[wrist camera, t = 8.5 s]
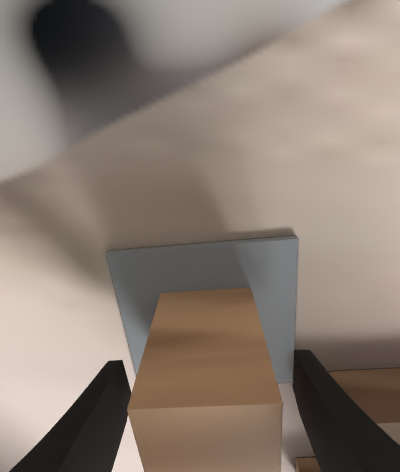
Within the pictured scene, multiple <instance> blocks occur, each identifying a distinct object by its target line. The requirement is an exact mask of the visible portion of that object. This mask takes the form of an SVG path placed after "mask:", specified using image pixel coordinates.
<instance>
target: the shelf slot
mask: <svg viewBox="0 0 400 472" xmlns="http://www.w3.org/2000/svg"><path fill="white" fill-rule="evenodd" d="M329 374H330V375H331V376H332V377H333V378H334V379H335V380H336V382H337V383H338V384H339V385H340V386H341V387H342V388H343V389H344V390H345V392H346V393H347V394H348V395H349V396H350V397H351V398H352V399H353V400H354V401H355V402H356V403H357V404H358V405H359V407H360V408H361V409H362V410H363V411H364V412H365V413H366V414H367V415H368V416H369V417H370V418H371V419H372V420H373V421H374V422H375V423H376V424H377V425H378V426H380V427H381V428H382V429H383V430H384V431H385V432H386V433H387V434H388V435H389V436H390V437H391V438H392V439H393V440H394V441H396V442H397V443H400V368H390V369H370V370H350V371H330V372H329ZM295 472H321V470H320V467H319V465H318V462H317V459H316V457H307V458H296V465H295Z"/></svg>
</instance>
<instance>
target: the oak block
mask: <svg viewBox="0 0 400 472" xmlns="http://www.w3.org/2000/svg"><path fill="white" fill-rule="evenodd" d="M282 411H283V403H282V399H281V396H280V392H279V388H278V385H277V381H276V377H275V373H274V370H273V366H272V362H271V359H270V355H269V351H268V348H267V344H266V340H265V337H264V333H263V329H262V326H261V322H260V318H259V315H258V311H257V307H256V304H255V300H254V296H253V293H252V289H251V287H247V288H231V289H216V290H200V291H185V292H169V293H160V297H159V300H158V304H157V307H156V311H155V314H154V318H153V321H152V324H151V328H150V331H149V335H148V338H147V342H146V345H145V349H144V352H143V356H142V359H141V363H140V366H139V369H138V373H137V376H136V380H135V383H134V387H133V390H132V394H131V397H130V401H129V404H128V408H127V412H128V415H129V419H130V422H131V426H132V429H133V433H134V437H135V440H136V444H137V447H138V451H139V454H140V458H141V461H142V465H143V469H144V472H281V445H282Z"/></svg>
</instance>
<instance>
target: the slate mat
mask: <svg viewBox="0 0 400 472" xmlns="http://www.w3.org/2000/svg"><path fill="white" fill-rule="evenodd" d="M298 240H299V239H298V237H297V236H296V235H295V236H283V237H271V238H258V239H246V240H234V241H222V242H210V243H198V244H185V245H173V246H161V247H149V248H137V249H125V250H112V251H108V252H107V253H106V254H105V255H106V259H107V262H108V266H109V270H110V274H111V278H112V282H113V286H114V290H115V294H116V298H117V301H118V305H119V309H120V313H121V317H122V321H123V325H124V329H125V333H126V337H127V341H128V344H129V348H130V352H131V356H132V360H133V364H134V368H135V372H136V376H137V373H138V369H139V366H140V363H141V359H142V356H143V352H144V349H145V345H146V342H147V338H148V335H149V331H150V328H151V324H152V321H153V318H154V314H155V311H156V307H157V304H158V300H159V297H160V293H169V292H185V291H200V290H216V289H231V288H247V287H251V289H252V293H253V296H254V300H255V304H256V307H257V311H258V315H259V318H260V322H261V326H262V329H263V333H264V337H265V340H266V344H267V348H268V351H269V355H270V359H271V362H272V366H273V370H274V373H275V377H276V381H277V383H293V362H294V348H295V321H296V294H297V267H298Z"/></svg>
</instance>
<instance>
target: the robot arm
mask: <svg viewBox="0 0 400 472" xmlns="http://www.w3.org/2000/svg"><path fill="white" fill-rule="evenodd" d="M293 390H294V394H295V398H296V402H297V405H298V409H299V413H300V416H301V419H302V421H303V424H304V427H305V430H306V432H307V435H308V438H309V440H310V443H311V446H312V448H313V451H314V454H315V456H316V459H317V462H318V465H319V467H320V470H321V472H400V445H399V444H398V443H397V442H396V441H394V440H393V439H392V438H391V437H390V436H389V435H388V434H387V433H386V432H385V431H384V430H383V429H382V428H381V427H380V426H378V425H377V424H376V423H375V422H374V421H373V420H372V419H371V418H370V417H369V416H368V415H367V414H366V413H365V412H364V411H363V410H362V409H361V408H360V407H359V405H358V404H357V403H356V402H355V401H354V400H353V399H352V398H351V397H350V396H349V395H348V394H347V393H346V392H345V390H344V389H343V388H342V387H341V386H340V385H339V384H338V383H337V382H336V380H335V379H334V378H333V377H332V376H331V375H330V374H329V372H328V371H327V370H326V369H325V368H324V366H323V365H322V364H321V363H320V362H319V360H318V359H317V358H316V357H315V355H314V354H313V353H312V352H311V351H310V350H295V351H294V362H293ZM130 397H131V390H130V386H129V383H128V379H127V375H126V372H125V368H124V364H123V361H122V360H116V361H108V362H107V363H106V364H105V366H104V367H103V368H102V369H101V371H100V372H99V373H98V374H97V376H96V377H95V378H94V379H93V381H92V382H91V383H90V384H89V386H88V387H87V388H86V389H85V390H84V392H83V393H82V394H81V395H80V397H79V398H78V399H77V400H76V401H75V402H74V404H73V405H72V406H71V407H70V408H69V410H68V411H67V412H66V413H65V414H64V415H63V416H62V418H61V419H60V420H59V421H58V422H57V423H56V424H55V425H54V427H53V428H52V429H51V430H50V431H49V432H48V433H47V434H46V435H45V436H44V437H43V438H42V440H41V441H40V442H39V443H38V444H37V445H36V446H35V447H34V448H33V449H32V450H31V451H30V452H29V453H28V454H27V455H26V456H25V457H24V458H23V459H22V460H21V461H20V462H19V463H18V464H17V465H16V466H14V467H13V468H12V469H11V470H10V471H9V472H111V471H112V468H113V465H114V461H115V458H116V455H117V452H118V448H119V445H120V442H121V438H122V435H123V432H124V428H125V425H126V422H127V417H128V412H127V408H128V404H129V401H130Z"/></svg>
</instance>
